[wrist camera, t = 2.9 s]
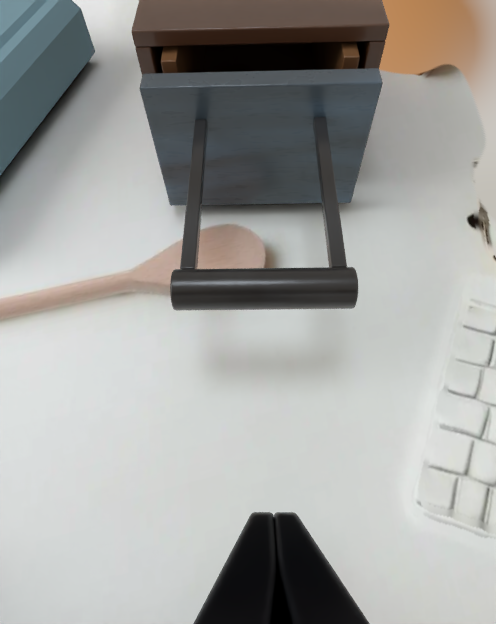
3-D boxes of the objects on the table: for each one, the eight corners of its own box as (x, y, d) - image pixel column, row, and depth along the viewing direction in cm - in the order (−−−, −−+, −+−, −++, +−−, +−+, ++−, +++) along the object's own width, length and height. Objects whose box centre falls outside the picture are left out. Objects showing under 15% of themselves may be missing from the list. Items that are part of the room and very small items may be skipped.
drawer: (376, 363, 21) (433, 275, 14) (150, 365, 21) (98, 279, 14) (327, 53, 34) (343, -69, 27) (188, 57, 34) (171, -64, 28)
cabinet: (351, 177, 28) (390, 24, 20) (168, 180, 29) (130, 30, 20) (327, 36, 37) (347, -112, 29) (187, 39, 37) (166, -106, 29)
